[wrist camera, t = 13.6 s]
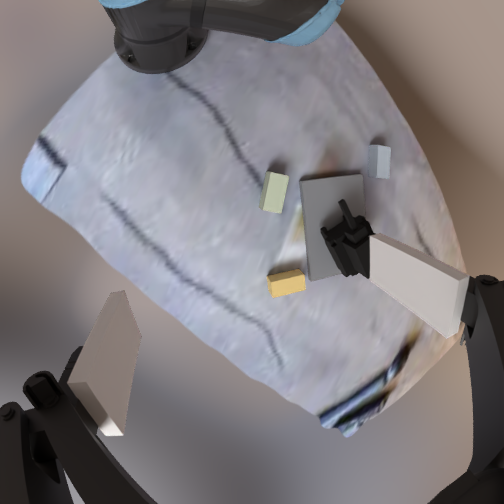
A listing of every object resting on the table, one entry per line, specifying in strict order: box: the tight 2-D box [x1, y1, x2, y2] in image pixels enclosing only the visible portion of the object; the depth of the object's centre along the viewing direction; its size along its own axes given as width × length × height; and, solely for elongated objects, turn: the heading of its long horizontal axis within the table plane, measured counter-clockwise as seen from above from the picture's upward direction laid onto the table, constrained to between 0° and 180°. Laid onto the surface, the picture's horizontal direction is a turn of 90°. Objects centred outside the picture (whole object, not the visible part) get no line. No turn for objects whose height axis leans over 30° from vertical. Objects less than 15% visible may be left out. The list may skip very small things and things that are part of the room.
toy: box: [320, 199, 375, 279], centre depth 44 cm, size 8×14×10 cm, turn 32°
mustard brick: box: [267, 269, 306, 298], centre depth 50 cm, size 6×3×3 cm, turn 99°
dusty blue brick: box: [368, 145, 391, 179], centre depth 47 cm, size 6×3×3 cm, turn 178°
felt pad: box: [299, 174, 365, 281], centre depth 50 cm, size 18×12×1 cm, turn 8°
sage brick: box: [259, 172, 289, 213], centre depth 45 cm, size 6×3×3 cm, turn 168°
